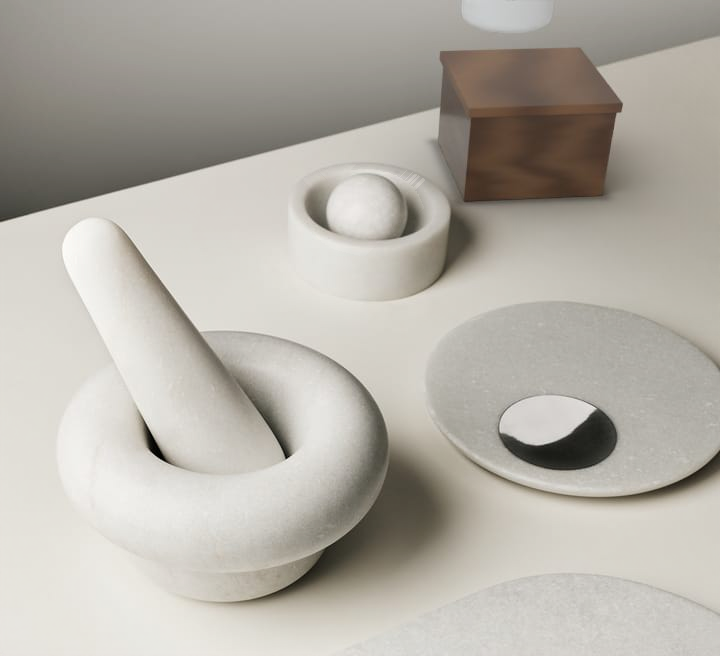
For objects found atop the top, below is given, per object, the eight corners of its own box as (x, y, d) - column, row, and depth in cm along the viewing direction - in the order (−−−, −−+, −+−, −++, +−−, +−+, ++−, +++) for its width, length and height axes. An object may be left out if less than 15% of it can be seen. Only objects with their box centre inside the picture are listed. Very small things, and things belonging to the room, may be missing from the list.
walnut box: (567, 135, 106) (580, 46, 101) (606, 197, 97) (623, 103, 92) (433, 140, 105) (439, 50, 100) (460, 203, 96) (469, 108, 90)
